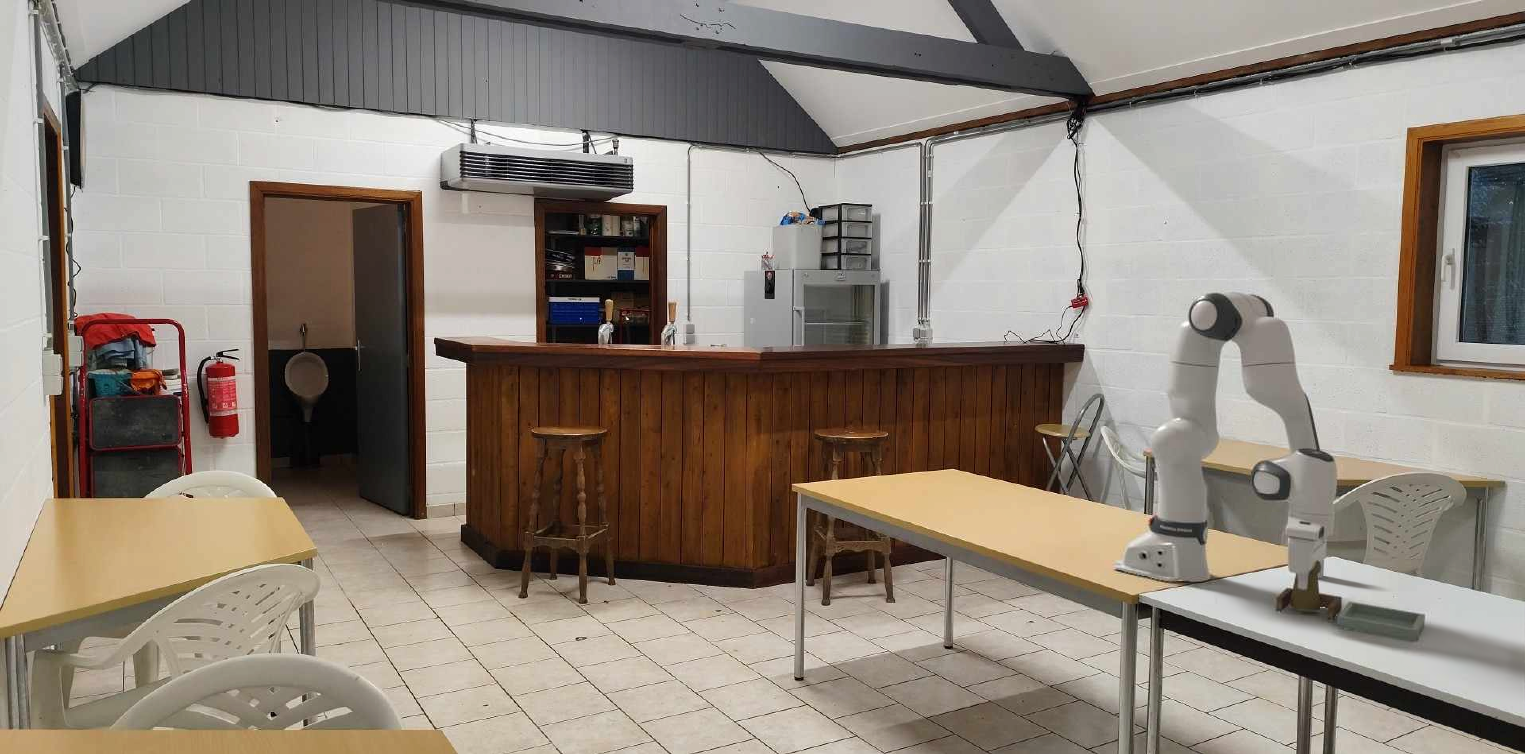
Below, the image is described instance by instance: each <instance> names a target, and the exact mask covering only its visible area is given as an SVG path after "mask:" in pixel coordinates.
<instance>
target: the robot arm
mask: <svg viewBox="0 0 1525 754" xmlns="http://www.w3.org/2000/svg"><path fill="white" fill-rule="evenodd" d="M1274 312H1275V311H1274V309H1273V306H1272V305H1271V304H1270V302H1269V301H1268V300H1266V298H1263V297H1261V296H1259V295H1256V294H1253V293H1252V294H1247V293H1243V292H1224V293H1222V292H1221V293H1220V292H1210V293H1206V294H1203V295H1201V296H1199V297H1198V298H1196V299H1195V300H1193V302H1192V304H1191V305H1190V307H1189V309H1188V319H1186V320H1183V322H1182V323H1181V324H1179V326H1178V329H1177V331H1176V334H1175V338H1174V340H1173V345H1172V350H1171V355H1170V364H1169V370H1168V371H1169V372H1168V377H1167V379H1168V380H1167V388H1166V393H1167V394H1166V395H1167V397H1168V399H1169V405H1170V408H1169V409H1170V421H1167V422H1165V423H1163V424H1162V425H1160V426H1158V428H1156V429H1155V430H1154V432H1153V433H1152V434H1151V437H1150V440H1149V448H1150V449H1149V450H1150V452H1151V455H1152V456H1153V457H1154V463H1155V468H1156V469H1155V470H1156V475H1157V484H1158V498H1157V499H1158V501H1157V503H1158V504H1157V505H1158V506H1157V513H1156V514H1154V515H1152V517H1151V518H1149V520H1148V521H1147V526H1149V530H1147V531H1145V532H1144V533H1142V534H1140V535H1139V536H1137V537H1135V538H1133V539H1132V540H1131V541H1129V542H1128V543H1127V544H1126V547H1125V550H1124V552H1123V556H1122V557H1123V558H1120V559H1118V560H1116V561H1115V562H1114V564H1113V567H1114V568H1116V569H1119V570H1122V571H1125V572H1124V573H1126V572H1132V573H1136V574H1139V575H1142V576H1141V577H1143V576H1149V577H1153V578H1157V579H1161V580H1167V581H1179V580H1182V581H1190V582H1189V583H1193V582H1194V583H1197V582H1198V583H1199V582H1204V581H1209V580H1210V579H1211V574H1210V571H1209V570H1210V569H1209V566H1208V558H1207V550H1206V549H1207V548H1206V547H1207V546H1206V544H1207V543H1208V542H1207V541H1208V535H1209V534H1208V533H1209V528H1208V520H1207V505H1208V504H1207V500H1208V498H1207V497H1208V489H1207V486H1206V484H1205V480H1204V476H1203V474H1204V473H1203V469H1202V467H1203V466H1202V461H1203V460H1205V459H1207V458H1208V457H1210V456H1211V455H1212V454H1213V453H1214V452H1215V450H1216V448H1217V447H1218V445H1219V440H1220V434H1219V431H1218V429H1217V426H1218V425H1217V424H1218V423H1217V422H1218V421H1217V407H1216V406H1217V405H1216V397H1217V386H1218V379H1219V378H1218V377H1219V370H1220V363H1221V353H1222V349H1223V347H1224V345H1225V344H1226V343H1227V342H1229V341H1232V342H1234V343H1235V344H1236V345H1237V347H1238V348H1239V352H1240V360H1241V376H1242V382H1243V386H1244V389H1245V392H1246V394H1247V395H1248V396H1249V397H1250V398H1251V399H1252V400H1254V401H1255V402H1256V403H1258V404H1260V405H1262V406H1264V407H1266V408H1269V409H1270V410H1272V411H1273V412H1274V413H1276V414H1277V415H1278V416H1279V417H1280V418H1281V420H1282V422H1283V424H1284V427H1285V433H1286V437H1287V443H1288V446H1289V451H1290V453H1289V454H1288V455H1283V456H1281V457H1280V456H1279V457H1275V458H1269V459H1264V460H1261V461H1258V462H1257V463H1256V464H1255V465H1254V466H1253V468H1252V469H1251V473H1250V477H1249V479H1250V480H1249V481H1250V487H1251V488H1252V491H1253V492H1254V493H1255V495H1256V496H1257V497H1258V498H1260V499H1261V500H1263V501H1267V502H1286V503H1288V515H1287V524H1286V527H1285V534H1284V535H1286V536H1288V538H1287V568H1288V571H1289V572H1290V573H1294V574H1296V573H1297V578H1298V588H1299V589H1303V590H1306V589H1307V588H1308V583H1309V581H1308V575H1309V572H1310V571H1311V570H1312V569H1313V568H1314V567H1315V564H1316V561H1317V560H1318V561H1319V562H1321V561H1322V560H1323V559H1324V560H1325V558H1326V554H1327V537H1330V536H1333V534H1334V527H1335V526H1334V524H1335V513H1336V512H1335V506H1334V500H1335V497H1336V495H1337V486H1338V485H1337V484H1338V471H1337V470H1338V469H1337V464H1336V460H1335V458H1334V457H1333V456H1332V455H1331V454H1330V453H1328V452H1325V451H1323V450H1321V448H1320V443H1319V439H1318V433H1317V429H1316V424H1315V419H1314V416H1313V415H1314V414H1313V411H1312V406H1311V404H1310V400H1309V398H1308V395H1307V394H1306V392H1305V391H1304V390H1303V388H1302V386H1301V383H1300V380H1299V377H1298V372H1297V364H1296V355H1295V349H1294V344H1293V340H1292V336H1291V333H1290V329H1289V327H1288V325H1287V323H1286V322H1285V321H1284V320H1283V319H1280V318H1278V317H1275V313H1274ZM1114 568H1113V569H1114ZM1139 575H1138V576H1139ZM1161 580H1160V581H1161Z"/></svg>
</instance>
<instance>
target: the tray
mask: <svg viewBox="0 0 1525 754" xmlns="http://www.w3.org/2000/svg"><path fill="white" fill-rule="evenodd" d="M1425 620H1426V614H1425V613H1418V612H1414V611H1413V612H1412V611H1407V610H1401V609H1394V608H1389V607H1384V606H1377V605H1371V604H1366V603H1361V602H1355V601H1348V602H1347V604H1346V605H1344V608H1343V609H1341V611H1340V613H1339V614H1338V615H1337V621H1336V627H1337V626H1338V627H1341V628H1340V629H1342V628H1347V629H1346V630H1348V629H1350V631H1353V630H1358V631H1357V632H1359V631H1362V632H1361V633H1364V632H1366V633H1365V634H1369V633H1370V634H1371V635H1375V634H1377V635H1376V636H1380V635H1382V636H1381V637H1387V638H1392V639H1397V640H1403V641H1407V642H1412V641H1416V642H1415V643H1417V642H1418V640H1419V637H1420V636H1421V633H1422V631H1423V629H1424V627H1425ZM1370 634H1369V635H1370ZM1419 635H1420V636H1419Z"/></svg>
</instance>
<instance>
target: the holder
mask: <svg viewBox="0 0 1525 754" xmlns="http://www.w3.org/2000/svg"><path fill="white" fill-rule="evenodd" d="M1292 590H1293V587H1291V588H1290V587H1286V588H1285V589H1284V590H1283V591H1282V592H1281V593H1280V594H1279V595H1277V597H1276V602H1275V612H1278V611H1280V612H1279V613H1281V612H1282V611H1283V610H1285V608H1287V606H1289V604H1290V599H1291V595H1292ZM1319 597H1320V607H1325V608H1328V609H1327V618H1326V621H1327V620H1332V621H1331V622H1333V621H1334V620H1335V619H1336V618H1337V616H1338V615H1339V614H1340V613H1341V611H1342V604H1343V602H1342V601H1343V597H1342V596H1339V595H1332V594H1327V593H1321V592H1319ZM1340 610H1341V611H1340ZM1339 612H1340V613H1339ZM1338 613H1339V614H1338ZM1337 614H1338V615H1337ZM1336 615H1337V616H1336ZM1335 617H1336V618H1335ZM1334 618H1335V619H1334ZM1333 619H1334V620H1333Z"/></svg>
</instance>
